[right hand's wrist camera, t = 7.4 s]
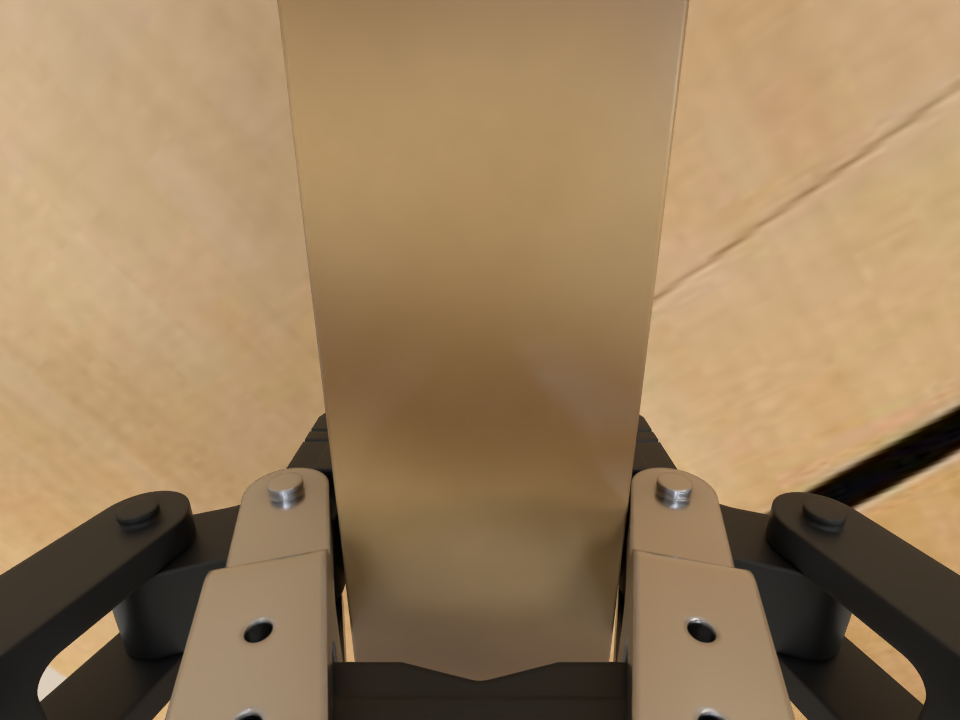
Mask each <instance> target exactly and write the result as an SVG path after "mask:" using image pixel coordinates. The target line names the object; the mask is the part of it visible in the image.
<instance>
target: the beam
mask: <svg viewBox="0 0 960 720" xmlns="http://www.w3.org/2000/svg"><path fill="white" fill-rule="evenodd" d="M277 1H278V10H279V18H280V27H281V36H282V44H283V53H284V61H285V70H286V78H287V87H288V95H289V104H290V112H291V121H292V129H293V138H294V146H295V155H296V164H297V172H298V181H299V189H300V198H301V206H302V215H303V223H304V232H305V240H306V249H307V257H308V266H309V274H310V283H311V291H312V300H313V309H314V317H315V326H316V334H317V343H318V351H319V360H320V368H321V377H322V385H323V394H324V402H325V411H326V419H327V428H328V437H329V445H330V454H331V462H332V471H333V479H334V488H335V496H336V505H337V513H338V522H339V530H340V539H341V547H342V556H343V565H344V573H345V582H346V590H347V599H348V607H349V616H350V624H351V633H352V641H353V650H354V658H355V662H403V663H407V664H411V665H415V666H419V667H423V668H427V669H431V670H435V671H439V672H443V673H447V674H451V675H455V676H459V677H463V678H467V679H471V680H476V681H484V680H489V679H493V678H497V677H501V676H505V675H509V674H513V673H517V672H521V671H525V670H529V669H533V668H537V667H541V666H545V665H549V664H553V663H557V662H609V659H610V651H611V642H612V634H613V626H614V618H615V609H616V601H617V593H618V585H619V576H620V568H621V560H622V552H623V543H624V535H625V527H626V519H627V510H628V502H629V494H630V486H631V477H632V469H633V461H634V453H635V444H636V436H637V428H638V420H639V411H640V403H641V395H642V387H643V378H644V370H645V362H646V354H647V345H648V337H649V329H650V321H651V312H652V304H653V296H654V288H655V279H656V271H657V263H658V255H659V247H660V238H661V230H662V222H663V214H664V205H665V197H666V189H667V181H668V172H669V164H670V156H671V148H672V139H673V131H674V123H675V115H676V106H677V98H678V90H679V82H680V73H681V65H682V57H683V49H684V40H685V32H686V24H687V16H688V7H689V0H277Z"/></svg>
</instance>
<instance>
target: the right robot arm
mask: <svg viewBox="0 0 960 720" xmlns="http://www.w3.org/2000/svg"><path fill="white" fill-rule="evenodd" d="M311 430H312V431H311V432H309V434H308V435H307V437H306V439H305V442H303V443H302V445H301V446H300V448H299V450H298V451H297V453H296V454H295V456H294V458H293V459H292V461H291V462H290V464H289V465H288V467H287V469H283V470H279V471H276V472H273V473H270V474H267V475H265V476H263V477H261V478H260V479H258V480H256V481H255V482H254V483H252V484H251V485H250V486H249V487H248V488H247V489H246V491H245V492H244V494H243V497H242V501H241V505H238V506H234V507H230V508H225V509H220V510H215V511H210V512H205V513H200V514H194V515H193V514H192V510H191V506H190V502H189V499H188V498H187V497H186V496H185V495H183V494H181V493H178V492H173V491H155V492H149V493H144V494H140V495H137V496H134V497H130V498H128V499H125V500H123V501H121V502H118V503H116V504H114V505H113V506H111V507H109V508H107V509H106V510H104V511H102V512H101V513H99V514H98V515H96V516H94V517H93V518H91V519H90V520H88V521H86V522H85V523H83V524H82V525H80V526H78V527H77V528H75V529H74V530H72V531H70V532H69V533H67V534H66V535H64V536H62V537H61V538H59V539H58V540H56V541H54V542H53V543H51V544H50V545H48V546H47V547H45V548H43V549H42V550H40V551H39V552H37V553H35V554H34V555H32V556H31V557H29V558H27V559H26V560H24V561H23V562H21V563H19V564H18V565H16V566H15V567H13V568H11V569H10V570H8V571H7V572H5V573H3V574H2V575H0V720H152V719H153V718H154V717H155V716H156V715H157V714H158V713H159V712H160V711H161V709H162V708H163V707H164V706H165V705H166V704H167V703H168V702H169V701H170V703H169V707H168V710H167V714H166V717H165V720H795V717H794V714H793V710H792V707H791V703H790V701H791V702H792V703H793V704H794V705H795V706H796V707H797V708H798V709H799V711H800V712H801V713H802V714H803V715H804V716H805V717H806V718H807V719H808V720H960V575H958V574H957V573H955V572H953V571H952V570H950V569H949V568H947V567H945V566H944V565H942V564H941V563H939V562H937V561H936V560H934V559H933V558H931V557H929V556H928V555H926V554H925V553H923V552H922V551H920V550H918V549H917V548H915V547H914V546H912V545H910V544H909V543H907V542H906V541H904V540H902V539H901V538H899V537H898V536H896V535H894V534H893V533H891V532H890V531H888V530H886V529H885V528H883V527H882V526H880V525H878V524H877V523H875V522H874V521H872V520H870V519H869V518H867V517H866V516H864V515H862V514H861V513H859V512H858V511H856V510H854V509H853V508H851V507H849V506H847V505H845V504H843V503H841V502H839V501H836V500H833V499H831V498H828V497H824V496H821V495H816V494H811V493H803V492H791V493H785V494H782V495H779V496H778V497H776V498H775V499H774V501H773V503H772V507H771V511H770V515H767V514H761V513H756V512H751V511H746V510H741V509H736V508H732V507H728V506H724V505H721V504H719V501H718V497H717V494H716V492H715V491H714V489H713V488H712V487H711V486H710V485H709V484H708V483H706V482H705V481H704V480H702V479H700V478H699V477H697V476H695V475H693V474H690V473H687V472H684V471H681V470H677V468H676V467H675V465H674V464H673V462H672V460H671V459H670V457H669V456H668V454H667V453H666V451H665V450H664V448H663V447H662V445H661V443H660V442H658V439H657V437H656V436H655V434H654V433H653V432H652V431H651V428H650V426H649V425H648V423H647V422H646V420H645V419H644V417H642V416H641V415H639V420H638V428H637V436H636V444H635V453H634V461H633V469H632V477H631V486H630V494H629V502H628V510H627V519H626V527H625V535H624V543H623V552H622V560H621V568H620V576H619V587H618V595H617V603H616V619H615V640H614V660H613V662H557V663H553V664H549V665H545V666H541V667H537V668H533V669H529V670H525V671H521V672H517V673H513V674H509V675H505V676H501V677H497V678H493V679H489V680H484V681H476V680H471V679H467V678H463V677H459V676H455V675H451V674H447V673H443V672H439V671H435V670H431V669H427V668H423V667H419V666H415V665H411V664H407V663H403V662H347V661H346V640H345V620H344V603H343V595H342V592H343V590H344V587H345V583H346V582H345V573H344V565H343V556H342V547H341V539H340V530H339V522H338V513H337V505H336V496H335V488H334V479H333V471H332V462H331V454H330V445H329V437H328V428H327V419H326V413H325V414H323V415H322V416H320V417H319V418H318V420H317V421H316V423H315V424H314V426H313V428H312V429H311ZM111 610H112V611H113V614H114V617H115V620H116V623H117V626H118V629H119V632H120V633H119V634H117V635H116V636H115V637H114V638H113V639H112V640H110V641H109V642H108V643H107V644H106V645H105V646H104V647H102V648H101V649H100V650H99V651H98V652H97V653H96V654H94V655H93V656H92V657H91V658H90V659H89V660H88V661H86V662H85V663H84V664H83V665H82V666H81V667H80V668H78V669H77V670H76V671H75V672H74V673H73V674H71V675H70V676H69V677H68V678H67V679H66V680H65V681H63V682H62V683H61V684H60V685H59V686H58V687H57V688H55V689H54V690H53V691H52V692H51V693H50V694H49V695H47V696H46V697H45V698H44V699H43V700H42V701H41V702H39V699H38V695H37V689H38V684H39V681H40V678H41V676H42V674H43V672H44V671H45V669H46V667H47V666H48V665H49V663H50V662H51V661H52V660H53V659H54V658H55V657H56V656H57V655H58V654H59V653H60V652H61V651H62V650H64V649H65V648H66V647H67V646H68V645H70V644H71V643H72V642H73V641H75V640H76V639H77V638H78V637H79V636H81V635H82V634H83V633H84V632H86V631H87V630H88V629H89V628H90V627H92V626H93V625H94V624H95V623H97V622H98V621H99V620H100V619H101V618H103V617H104V616H105V615H106V614H108V613H109V612H110V611H111ZM851 614H854V615H855V616H856V617H857V618H859V619H860V620H861V621H862V622H863V623H865V624H866V625H867V626H868V627H870V628H871V629H872V630H873V631H874V632H876V633H877V634H878V635H879V636H881V637H882V638H883V639H884V640H885V641H887V642H888V643H889V644H890V645H892V646H893V647H894V648H895V649H896V650H898V651H899V652H900V653H901V654H903V655H904V656H905V657H906V658H907V659H908V660H909V661H910V662H911V663H912V664H913V666H914V667H915V668H916V670H917V671H918V673H919V674H920V676H921V678H922V680H923V683H924V686H925V690H926V700H925V703H924V705H923V704H922V703H921V702H920V701H918V700H917V699H916V698H915V697H914V696H913V695H911V694H910V693H909V692H908V691H907V690H906V689H905V688H903V687H902V686H901V685H900V684H899V683H898V682H897V681H895V680H894V679H893V678H892V677H891V676H890V675H889V674H887V673H886V672H885V671H884V670H883V669H882V668H881V667H879V666H878V665H877V664H876V663H875V662H874V661H872V660H871V659H870V658H869V657H868V656H867V655H866V654H864V653H863V652H862V651H861V650H860V649H859V648H858V647H856V646H855V645H854V644H853V643H852V642H851V641H850V640H848V639H847V638H846V637H845V636H844V635H845V632H846V629H847V626H848V623H849V620H850V617H851ZM789 699H790V700H789Z"/></svg>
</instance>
